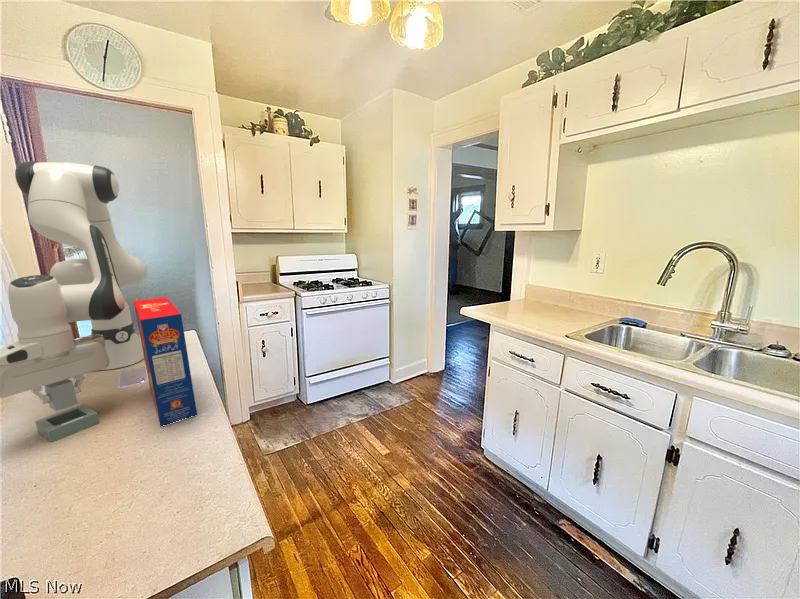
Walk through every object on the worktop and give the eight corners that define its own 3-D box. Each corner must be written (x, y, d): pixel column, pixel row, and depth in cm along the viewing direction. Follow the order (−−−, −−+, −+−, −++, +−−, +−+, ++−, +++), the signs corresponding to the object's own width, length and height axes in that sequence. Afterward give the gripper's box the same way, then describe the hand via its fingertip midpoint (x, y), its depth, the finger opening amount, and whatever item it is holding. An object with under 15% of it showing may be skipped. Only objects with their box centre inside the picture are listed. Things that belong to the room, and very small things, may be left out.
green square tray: (37, 431, 83) (35, 420, 82) (84, 413, 90) (82, 404, 90) (51, 442, 78) (48, 431, 78) (99, 422, 86) (97, 412, 85)
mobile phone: (146, 365, 120) (148, 380, 109) (146, 368, 120) (148, 383, 109) (119, 371, 116) (117, 387, 104) (119, 374, 116) (118, 390, 104)
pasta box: (150, 388, 105) (133, 301, 99) (180, 380, 110) (166, 297, 104) (160, 427, 84) (140, 319, 78) (197, 415, 89) (181, 313, 83)
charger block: (49, 407, 82) (43, 383, 81) (71, 399, 86) (65, 377, 84) (56, 411, 80) (49, 387, 79) (77, 403, 84) (72, 380, 82)
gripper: (97, 330, 90) (108, 378, 93) (-21, 356, 73) (-4, 414, 75) (108, 333, 87) (118, 383, 90) (-13, 361, 70) (4, 421, 72)
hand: (61, 397), depth 82 cm, fingers closed on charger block, 4 cm apart
